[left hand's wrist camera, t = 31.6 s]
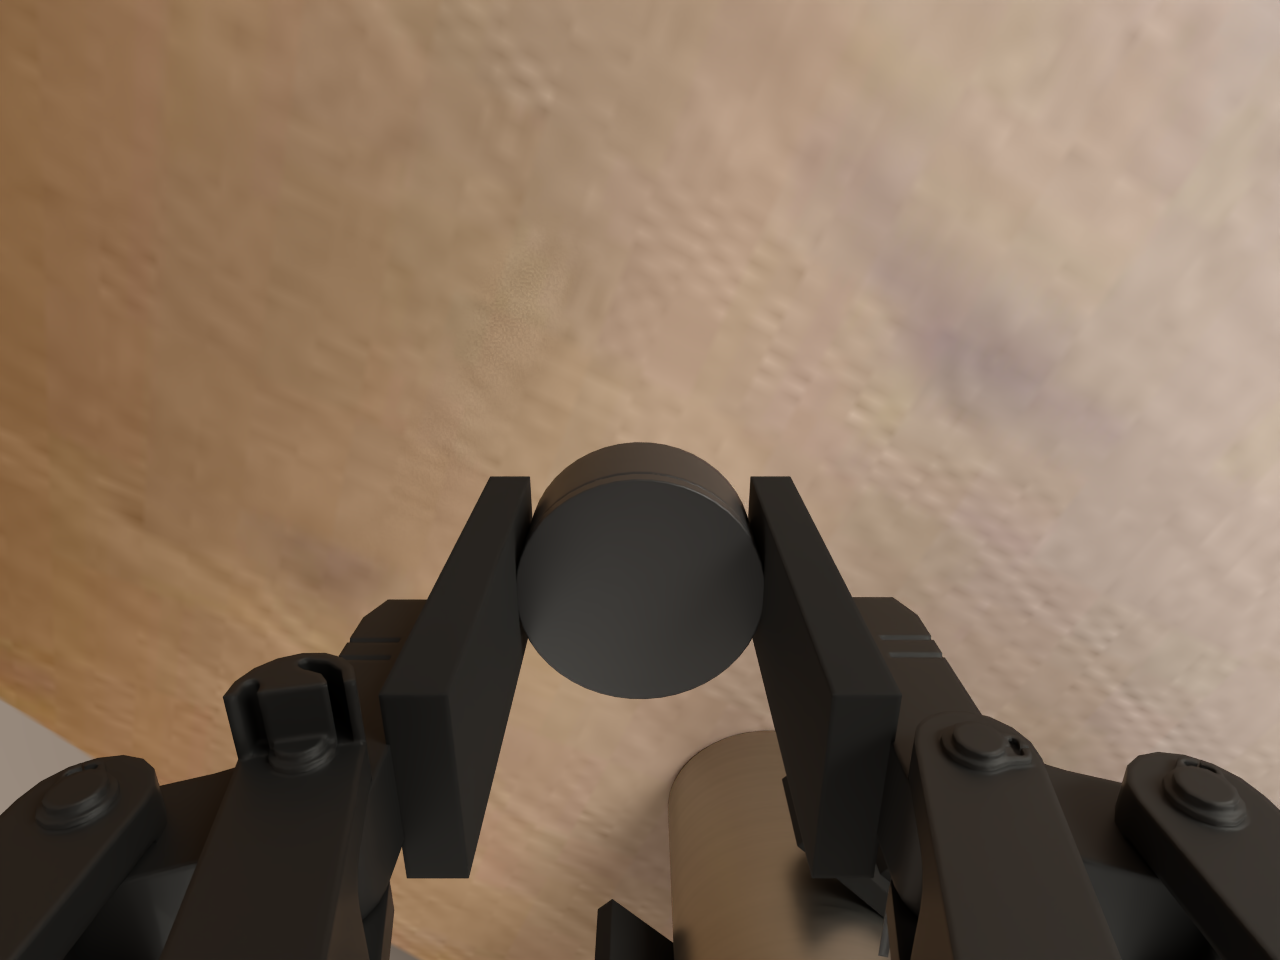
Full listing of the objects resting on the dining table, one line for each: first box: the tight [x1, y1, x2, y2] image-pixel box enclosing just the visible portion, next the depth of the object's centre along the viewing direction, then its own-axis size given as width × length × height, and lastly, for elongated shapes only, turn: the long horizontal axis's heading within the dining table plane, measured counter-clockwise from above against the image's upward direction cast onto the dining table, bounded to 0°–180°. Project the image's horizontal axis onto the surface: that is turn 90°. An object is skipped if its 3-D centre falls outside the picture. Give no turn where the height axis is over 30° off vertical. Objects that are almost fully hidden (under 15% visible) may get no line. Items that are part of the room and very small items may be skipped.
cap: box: [516, 442, 764, 699], centre depth 14 cm, size 4×4×2 cm
